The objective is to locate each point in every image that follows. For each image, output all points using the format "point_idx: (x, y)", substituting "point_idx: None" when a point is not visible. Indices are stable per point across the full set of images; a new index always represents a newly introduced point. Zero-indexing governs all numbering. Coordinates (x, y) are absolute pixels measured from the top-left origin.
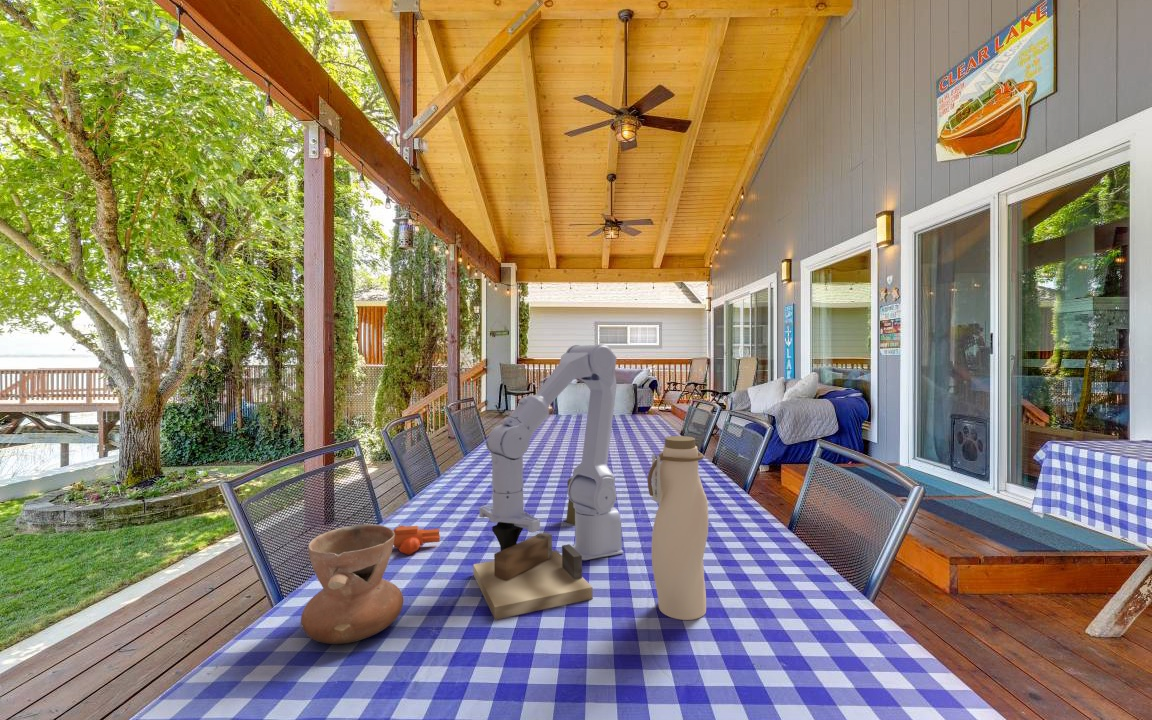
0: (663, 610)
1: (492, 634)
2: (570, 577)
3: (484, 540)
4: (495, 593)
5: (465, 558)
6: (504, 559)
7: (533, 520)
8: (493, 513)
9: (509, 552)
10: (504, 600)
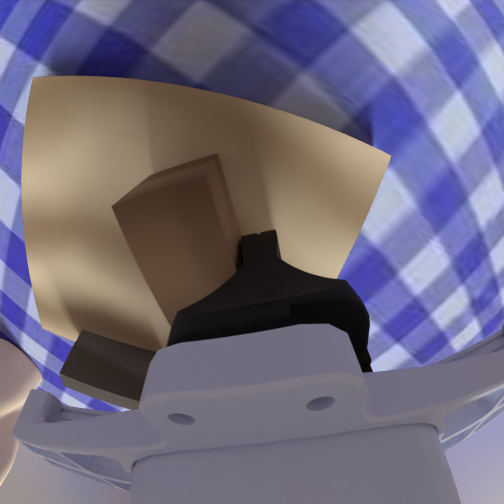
0: (3, 343)
1: (18, 61)
2: (94, 330)
3: (483, 291)
4: (95, 100)
5: (467, 202)
6: (129, 197)
7: (39, 453)
8: (382, 450)
9: (168, 254)
10: (46, 114)
